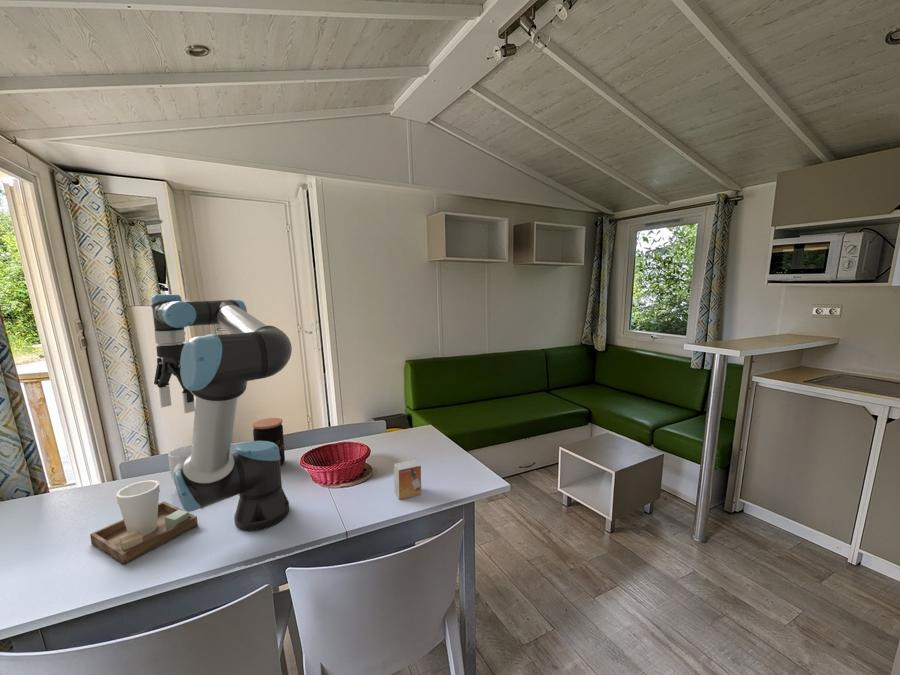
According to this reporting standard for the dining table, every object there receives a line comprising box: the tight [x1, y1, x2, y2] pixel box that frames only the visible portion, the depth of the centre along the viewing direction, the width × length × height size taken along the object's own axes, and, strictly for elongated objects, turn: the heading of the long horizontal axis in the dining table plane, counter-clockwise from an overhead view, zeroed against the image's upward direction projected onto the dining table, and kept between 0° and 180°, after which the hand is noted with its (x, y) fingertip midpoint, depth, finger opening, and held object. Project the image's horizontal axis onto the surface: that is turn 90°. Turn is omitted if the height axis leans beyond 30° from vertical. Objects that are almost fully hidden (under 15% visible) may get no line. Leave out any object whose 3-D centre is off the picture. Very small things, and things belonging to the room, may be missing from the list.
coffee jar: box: [252, 417, 286, 467], centre depth 148 cm, size 11×11×18 cm
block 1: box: [120, 530, 143, 552], centre depth 99 cm, size 4×4×4 cm
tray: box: [89, 501, 199, 566], centre depth 107 cm, size 18×18×3 cm
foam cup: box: [115, 479, 161, 537], centre depth 107 cm, size 10×9×13 cm
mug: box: [167, 444, 192, 487], centre depth 132 cm, size 15×11×13 cm
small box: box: [393, 459, 422, 500], centre depth 127 cm, size 8×6×10 cm
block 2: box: [165, 509, 190, 530], centre depth 109 cm, size 4×4×4 cm
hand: (177, 409), depth 120 cm, fingers open, 13 cm apart
